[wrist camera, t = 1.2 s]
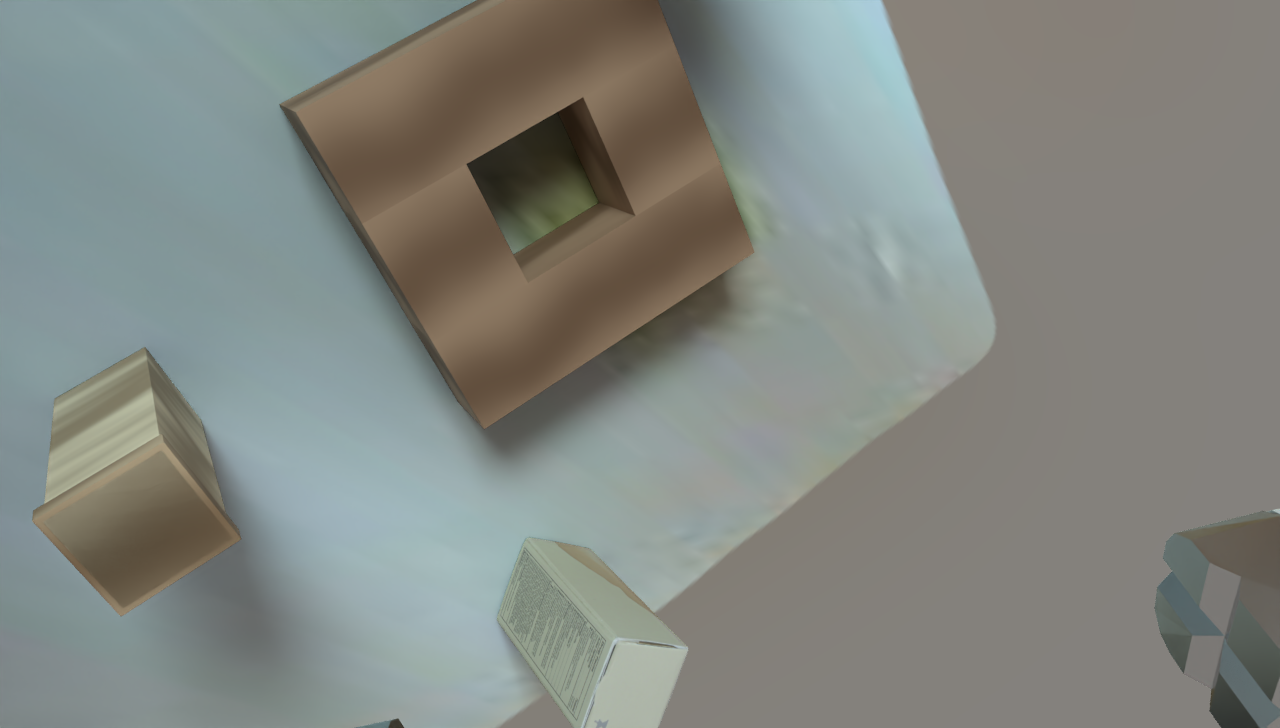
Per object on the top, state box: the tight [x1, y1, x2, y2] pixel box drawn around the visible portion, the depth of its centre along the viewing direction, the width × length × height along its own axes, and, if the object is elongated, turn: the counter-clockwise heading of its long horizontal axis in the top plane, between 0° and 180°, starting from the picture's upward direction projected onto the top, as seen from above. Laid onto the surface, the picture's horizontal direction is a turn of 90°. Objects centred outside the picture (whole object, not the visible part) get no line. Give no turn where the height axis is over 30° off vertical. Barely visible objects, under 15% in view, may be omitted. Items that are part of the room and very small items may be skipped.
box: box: [497, 538, 688, 728], centre depth 51 cm, size 5×4×11 cm
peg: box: [32, 347, 241, 616], centre depth 38 cm, size 4×4×12 cm
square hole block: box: [279, 0, 754, 429], centre depth 46 cm, size 16×16×4 cm
